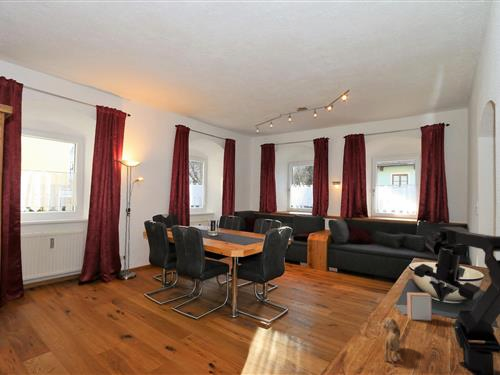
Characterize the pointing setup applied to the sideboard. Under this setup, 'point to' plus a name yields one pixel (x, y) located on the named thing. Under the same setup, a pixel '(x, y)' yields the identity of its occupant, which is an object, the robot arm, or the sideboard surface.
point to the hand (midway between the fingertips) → (441, 301)
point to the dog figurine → (391, 338)
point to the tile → (419, 306)
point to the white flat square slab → (402, 309)
